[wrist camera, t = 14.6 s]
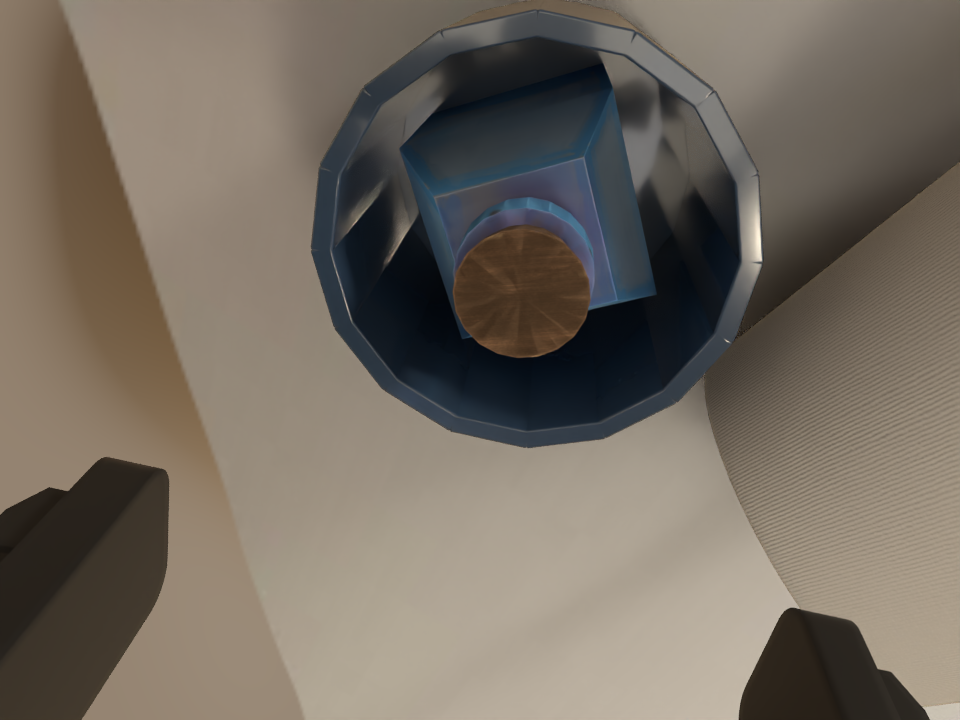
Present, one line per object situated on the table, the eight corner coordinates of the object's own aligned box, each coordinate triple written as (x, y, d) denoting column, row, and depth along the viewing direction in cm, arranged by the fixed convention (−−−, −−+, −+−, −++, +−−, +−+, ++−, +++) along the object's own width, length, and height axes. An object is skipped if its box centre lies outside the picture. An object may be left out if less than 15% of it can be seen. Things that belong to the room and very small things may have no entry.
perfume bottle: (481, 272, 31) (434, 434, 20) (431, 113, 28) (349, 201, 18) (639, 233, 29) (681, 384, 19) (603, 63, 27) (627, 124, 16)
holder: (370, 279, 32) (295, 398, 23) (414, -34, 27) (338, -36, 18) (649, 340, 32) (681, 482, 23) (746, 38, 27) (836, 73, 18)
